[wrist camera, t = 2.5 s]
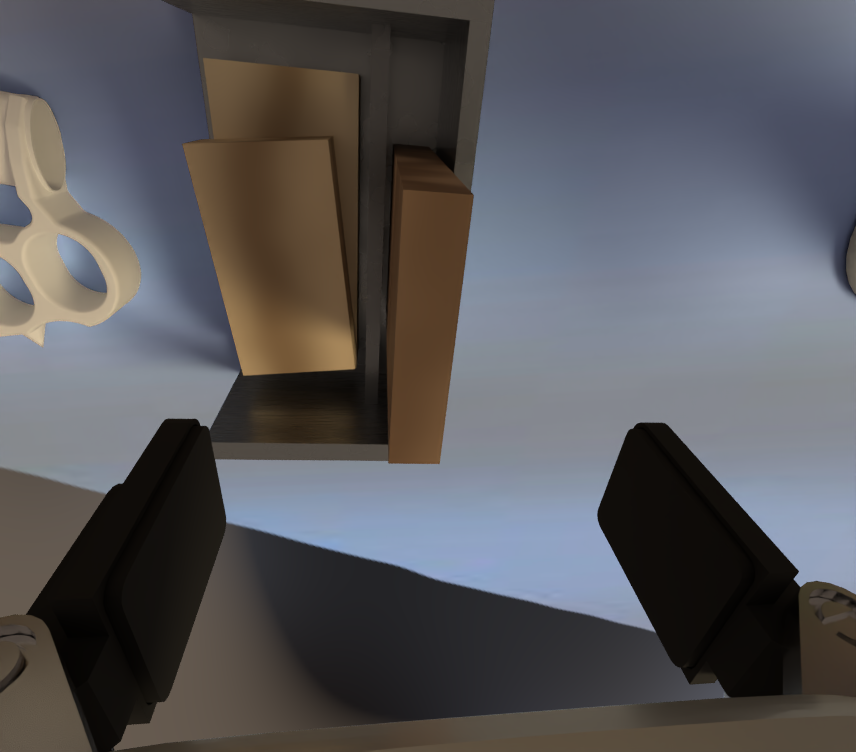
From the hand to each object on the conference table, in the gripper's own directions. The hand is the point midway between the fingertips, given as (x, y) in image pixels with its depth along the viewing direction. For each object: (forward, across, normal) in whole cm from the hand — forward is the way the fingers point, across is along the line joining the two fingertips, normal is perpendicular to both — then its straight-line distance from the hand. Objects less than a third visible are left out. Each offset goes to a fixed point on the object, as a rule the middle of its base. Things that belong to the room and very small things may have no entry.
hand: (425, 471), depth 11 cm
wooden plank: (+21, -1, 0) cm, 21 cm away
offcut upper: (+18, +6, +1) cm, 19 cm away
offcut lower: (+21, +6, 0) cm, 22 cm away
